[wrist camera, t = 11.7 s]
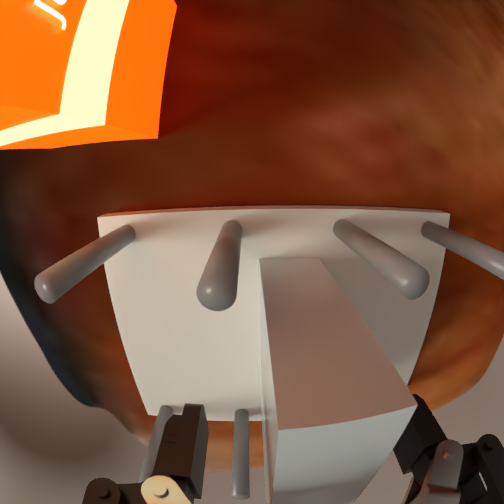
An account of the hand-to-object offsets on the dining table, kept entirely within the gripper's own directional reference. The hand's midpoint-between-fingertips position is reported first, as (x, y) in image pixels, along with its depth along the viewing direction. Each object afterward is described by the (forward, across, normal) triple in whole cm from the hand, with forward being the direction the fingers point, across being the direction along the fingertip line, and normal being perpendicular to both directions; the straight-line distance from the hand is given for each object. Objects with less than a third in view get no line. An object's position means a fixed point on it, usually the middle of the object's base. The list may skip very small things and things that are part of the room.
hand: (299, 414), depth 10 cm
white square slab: (+6, 0, 0) cm, 6 cm away
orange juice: (+7, +10, -16) cm, 20 cm away
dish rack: (+7, 0, 0) cm, 7 cm away
